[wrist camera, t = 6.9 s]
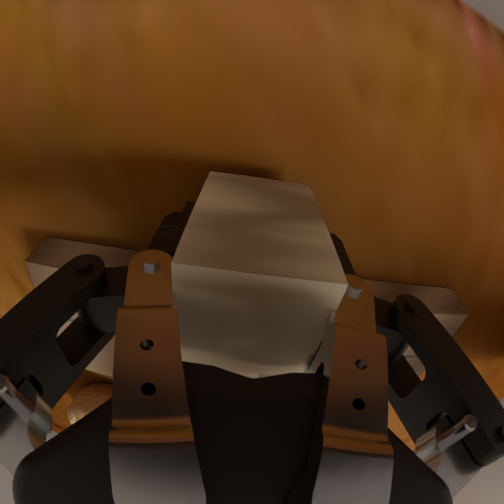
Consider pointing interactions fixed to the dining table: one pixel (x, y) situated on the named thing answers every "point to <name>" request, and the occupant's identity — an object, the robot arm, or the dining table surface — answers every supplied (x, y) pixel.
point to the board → (435, 298)
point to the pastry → (88, 400)
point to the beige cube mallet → (255, 276)
